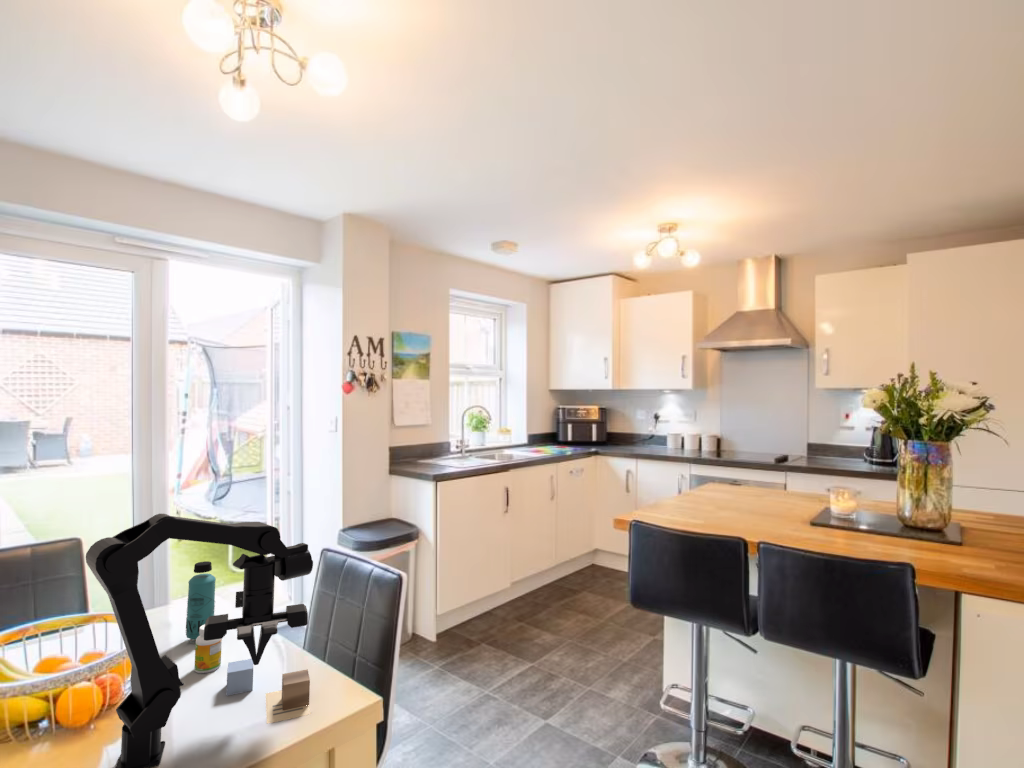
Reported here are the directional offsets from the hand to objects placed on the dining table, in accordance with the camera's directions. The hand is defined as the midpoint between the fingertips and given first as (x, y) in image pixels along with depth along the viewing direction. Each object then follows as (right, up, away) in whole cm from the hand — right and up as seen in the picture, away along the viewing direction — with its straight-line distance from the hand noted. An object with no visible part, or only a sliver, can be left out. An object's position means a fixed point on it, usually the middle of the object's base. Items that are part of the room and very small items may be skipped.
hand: (256, 664), depth 108 cm
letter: (+5, -10, +2) cm, 11 cm away
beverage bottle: (-30, -11, +32) cm, 45 cm away
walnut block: (+7, -9, +3) cm, 12 cm away
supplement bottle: (-19, -10, +17) cm, 28 cm away
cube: (-8, -10, +8) cm, 15 cm away
